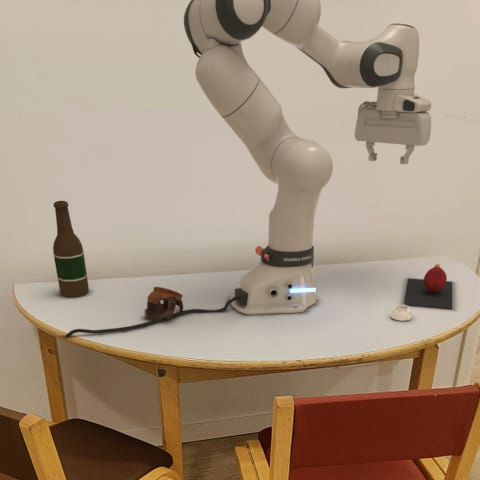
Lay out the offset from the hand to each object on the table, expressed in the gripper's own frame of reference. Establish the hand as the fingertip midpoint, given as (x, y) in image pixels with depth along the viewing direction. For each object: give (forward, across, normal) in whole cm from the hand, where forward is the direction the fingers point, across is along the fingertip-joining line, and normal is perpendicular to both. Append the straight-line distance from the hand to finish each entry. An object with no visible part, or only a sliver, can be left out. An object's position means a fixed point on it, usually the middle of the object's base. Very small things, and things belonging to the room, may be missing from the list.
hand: (387, 162), depth 157 cm
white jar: (+31, +21, -22) cm, 44 cm away
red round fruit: (+31, +19, -2) cm, 36 cm away
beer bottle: (+31, -55, -65) cm, 91 cm away
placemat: (+31, +18, -2) cm, 36 cm away
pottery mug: (+31, -23, -60) cm, 71 cm away
